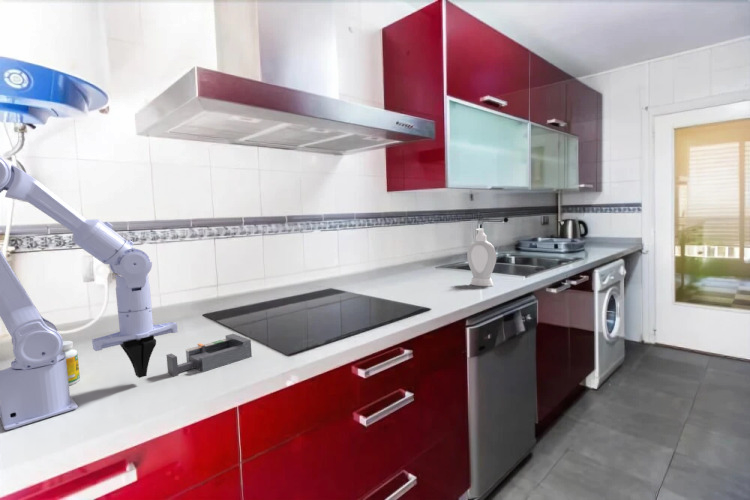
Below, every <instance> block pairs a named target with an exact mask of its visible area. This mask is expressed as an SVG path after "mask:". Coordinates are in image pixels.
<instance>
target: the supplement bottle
mask: <svg viewBox="0 0 750 500" xmlns="http://www.w3.org/2000/svg"><path fill="white" fill-rule="evenodd" d="M73 347H74V342H73V341H72V340H63V348H62V352H64V353H65V356H66V364H67V373H68V383H69V387H70V386H72V385H75V384H77V383H78V382H79V381H80V379H81V376H80V375H81V374H80V365H79V364H80V363H79V354H78V351H77V350H76V349H73Z"/></svg>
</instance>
